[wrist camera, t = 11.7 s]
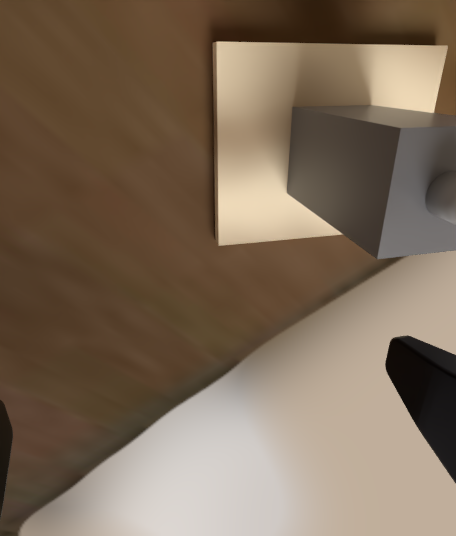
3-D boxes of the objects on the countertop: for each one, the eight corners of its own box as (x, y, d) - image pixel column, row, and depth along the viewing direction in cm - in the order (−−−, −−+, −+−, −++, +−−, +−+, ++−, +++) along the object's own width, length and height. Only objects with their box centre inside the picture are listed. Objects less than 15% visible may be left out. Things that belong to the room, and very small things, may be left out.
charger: (359, 188, 21) (522, 267, 12) (286, 193, 20) (408, 281, 11) (371, 105, 19) (572, 130, 10) (292, 106, 18) (441, 136, 10)
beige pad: (400, 223, 23) (408, 228, 22) (215, 239, 21) (218, 245, 20) (436, 46, 19) (447, 45, 18) (212, 42, 17) (216, 41, 16)
